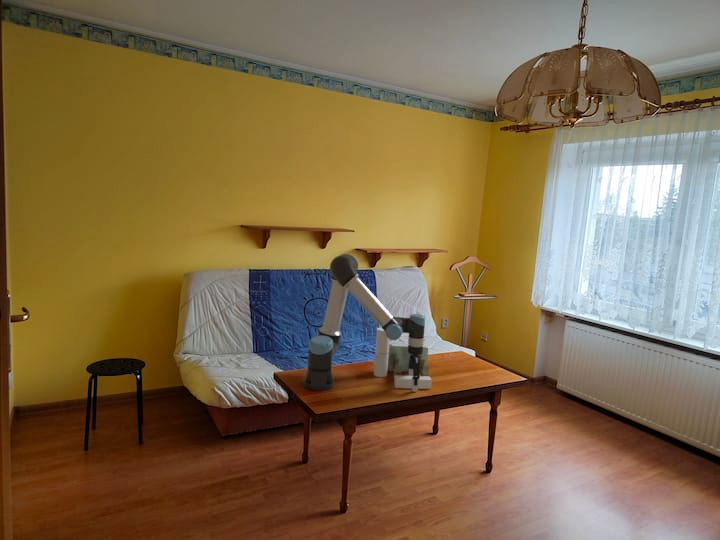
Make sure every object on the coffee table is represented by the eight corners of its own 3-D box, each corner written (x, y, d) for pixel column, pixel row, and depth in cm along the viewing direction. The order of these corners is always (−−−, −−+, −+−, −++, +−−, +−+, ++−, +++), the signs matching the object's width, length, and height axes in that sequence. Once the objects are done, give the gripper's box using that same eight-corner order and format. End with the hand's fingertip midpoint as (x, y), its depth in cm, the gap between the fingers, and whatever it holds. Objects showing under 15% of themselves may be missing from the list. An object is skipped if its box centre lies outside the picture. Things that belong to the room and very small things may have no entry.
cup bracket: (389, 382, 239) (391, 355, 237) (386, 370, 257) (388, 345, 255) (432, 384, 239) (434, 357, 238) (425, 371, 258) (427, 347, 256)
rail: (395, 388, 231) (396, 378, 231) (393, 384, 236) (394, 375, 236) (430, 389, 233) (431, 379, 232) (428, 385, 238) (429, 376, 237)
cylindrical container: (386, 377, 245) (389, 331, 242) (372, 376, 246) (375, 330, 243) (387, 373, 252) (391, 328, 249) (374, 371, 253) (378, 327, 250)
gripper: (427, 353, 220) (424, 396, 222) (419, 338, 245) (416, 377, 247) (411, 352, 219) (408, 395, 222) (404, 338, 244) (402, 377, 247)
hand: (412, 386), depth 234 cm, fingers open, 13 cm apart
